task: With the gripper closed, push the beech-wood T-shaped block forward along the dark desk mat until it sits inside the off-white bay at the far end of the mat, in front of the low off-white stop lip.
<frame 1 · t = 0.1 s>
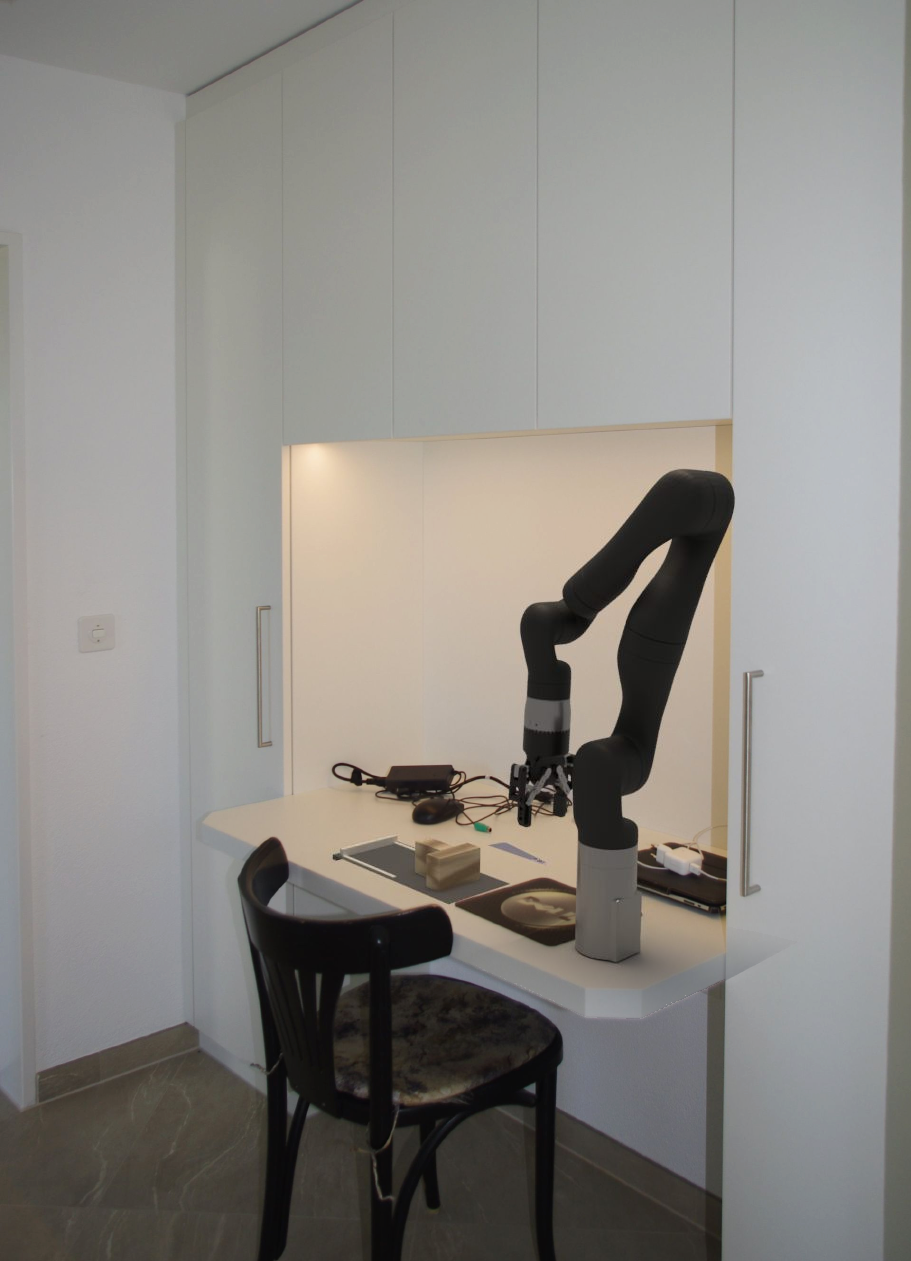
hand: (542, 821, 163), 17 cm above the table, tool pointing down, fingers open, 8 cm apart
desk mat: (417, 872, 188), on the table
T block: (453, 882, 180), point 1 cm above the table, touching desk mat
lavender triangular plate: (510, 859, 198), on the table
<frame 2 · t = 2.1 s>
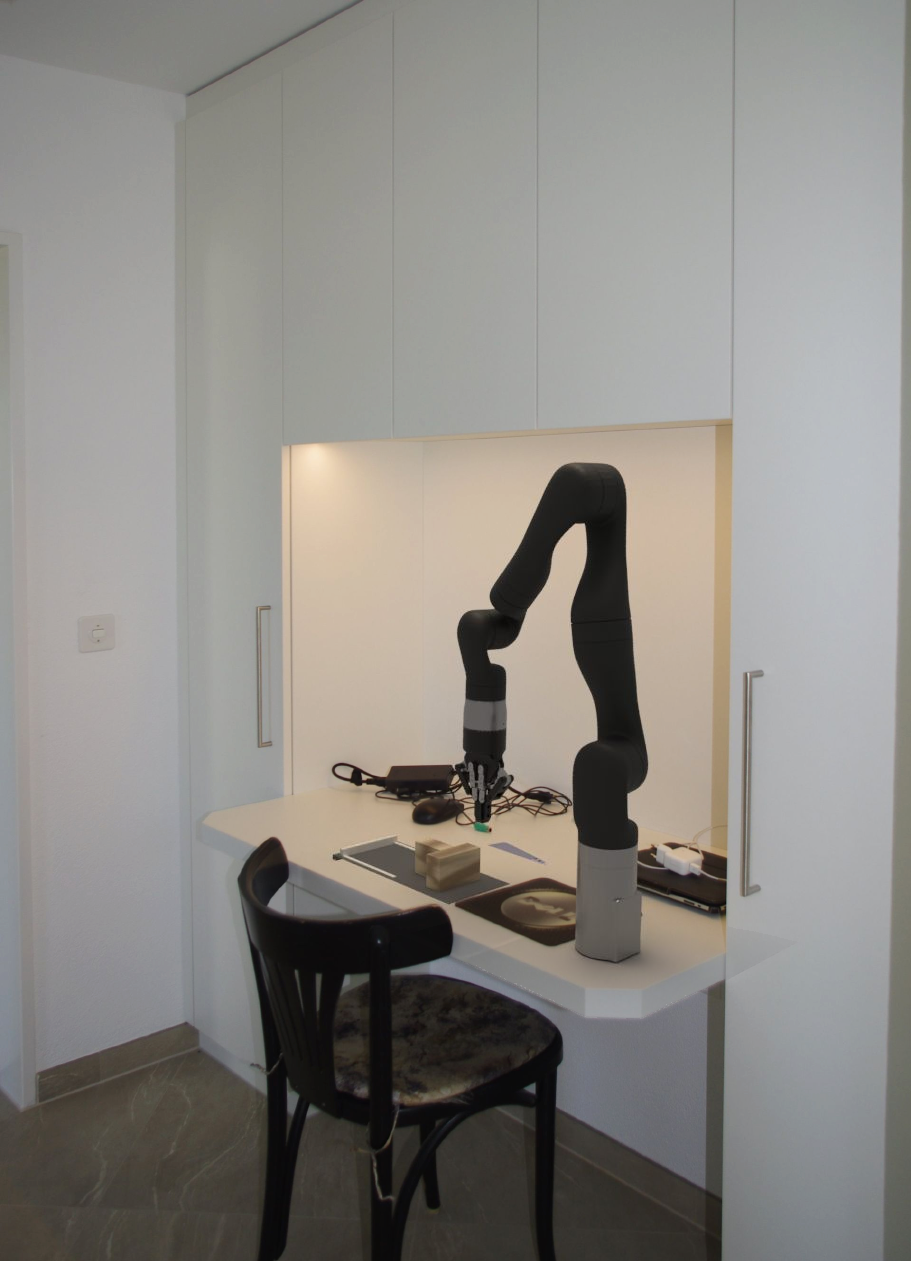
hand: (482, 821, 174), 14 cm above the table, tool pointing down, fingers closed
nothing on the table moved.
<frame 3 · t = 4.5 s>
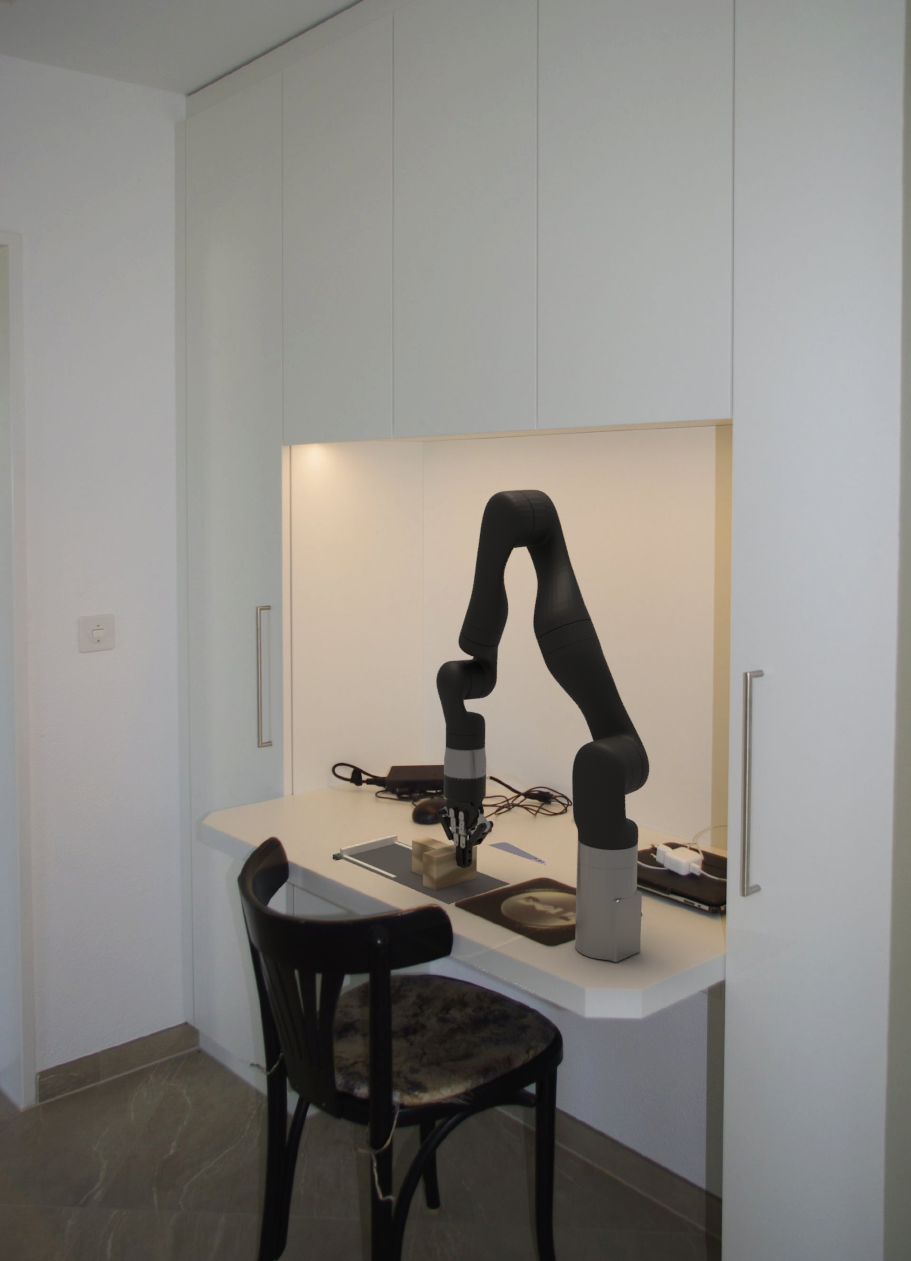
hand: (463, 866, 178), 5 cm above the table, tool pointing down, fingers closed
T block: (450, 881, 181), point 1 cm above the table, touching desk mat, gripper
everything else where it was.
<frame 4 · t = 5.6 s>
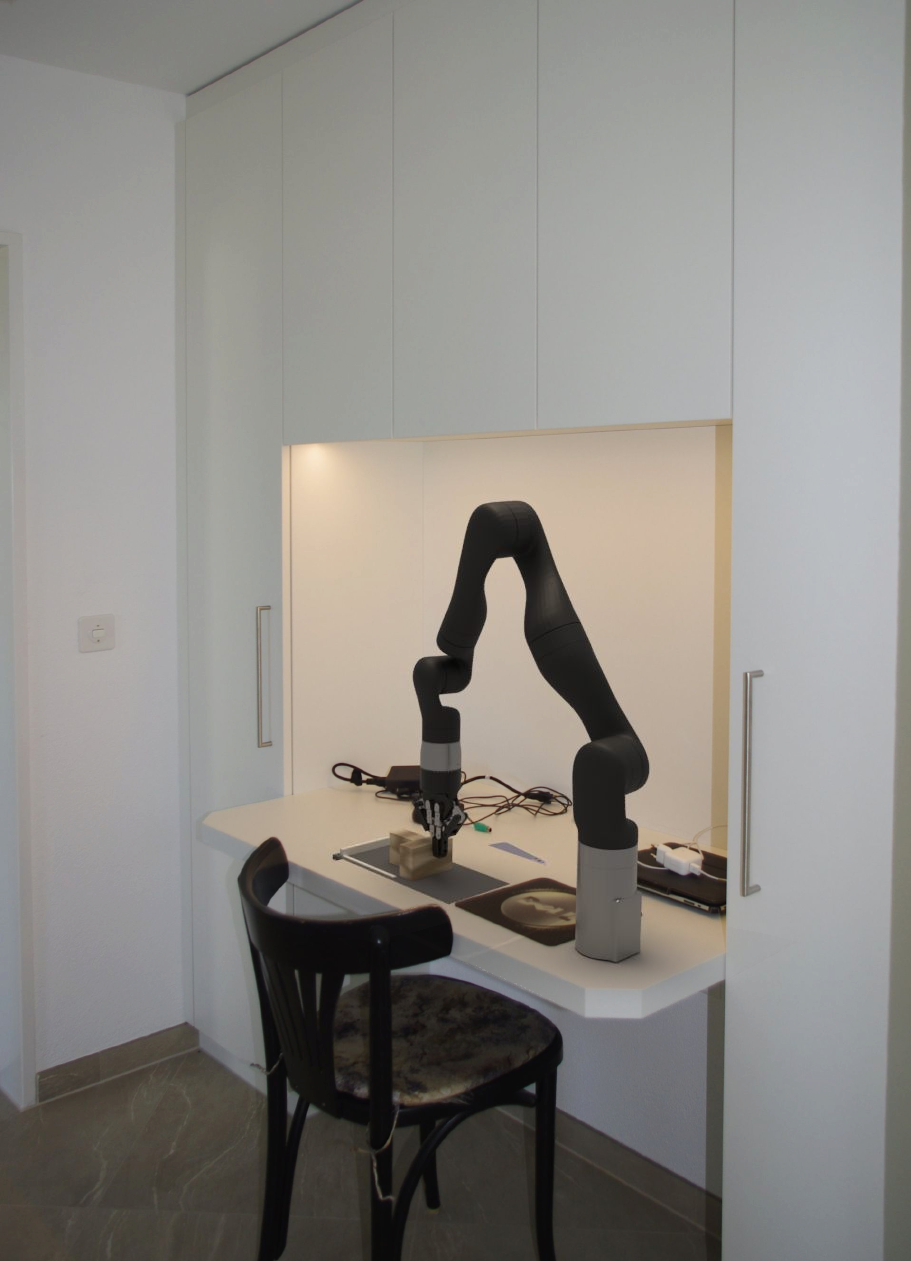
hand: (439, 856, 183), 5 cm above the table, tool pointing down, fingers closed
T block: (426, 872, 186), point 1 cm above the table, touching gripper
everything else where it was.
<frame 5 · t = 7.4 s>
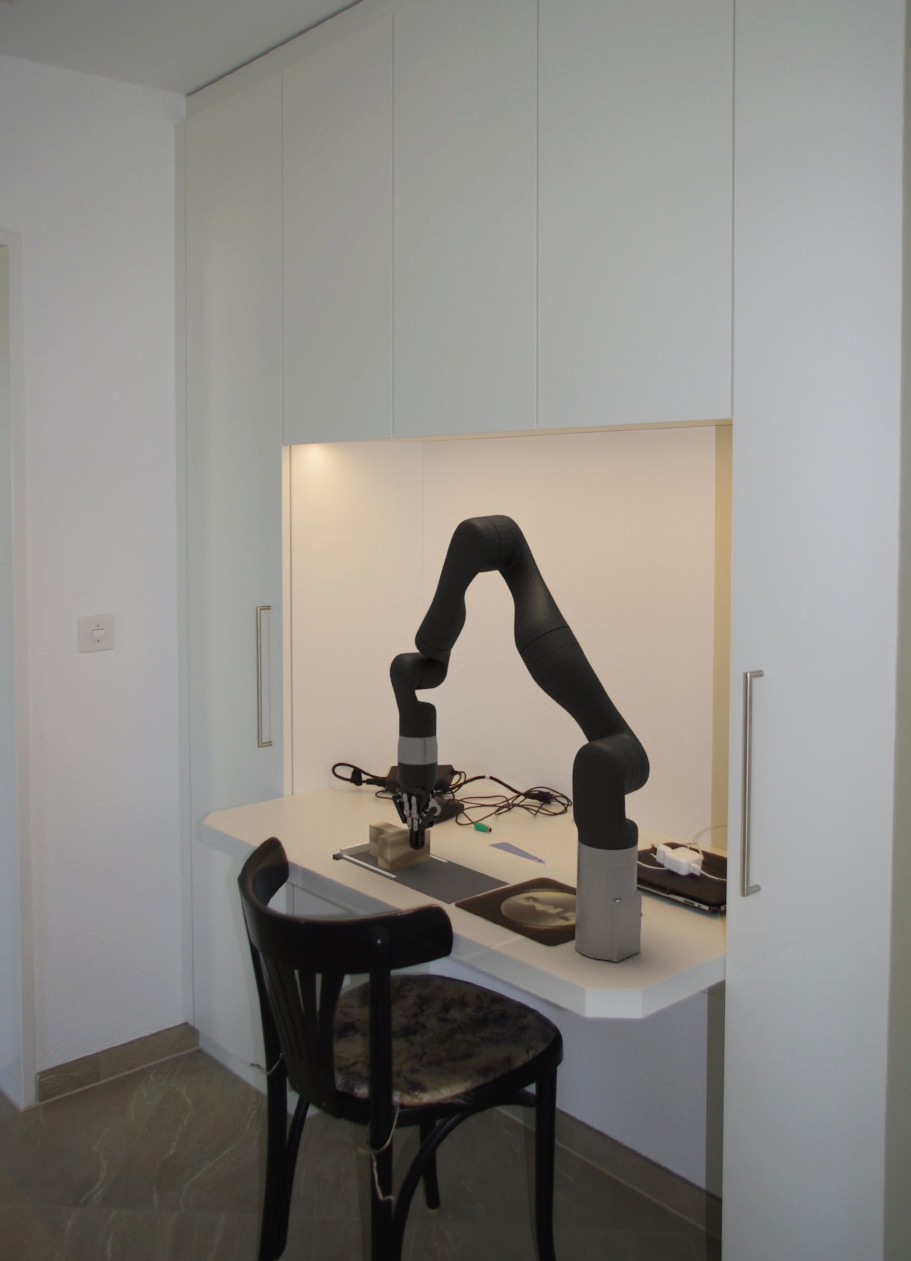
hand: (417, 848, 188), 5 cm above the table, tool pointing down, fingers closed
T block: (404, 863, 190), point 1 cm above the table, touching desk mat, gripper
everything else where it was.
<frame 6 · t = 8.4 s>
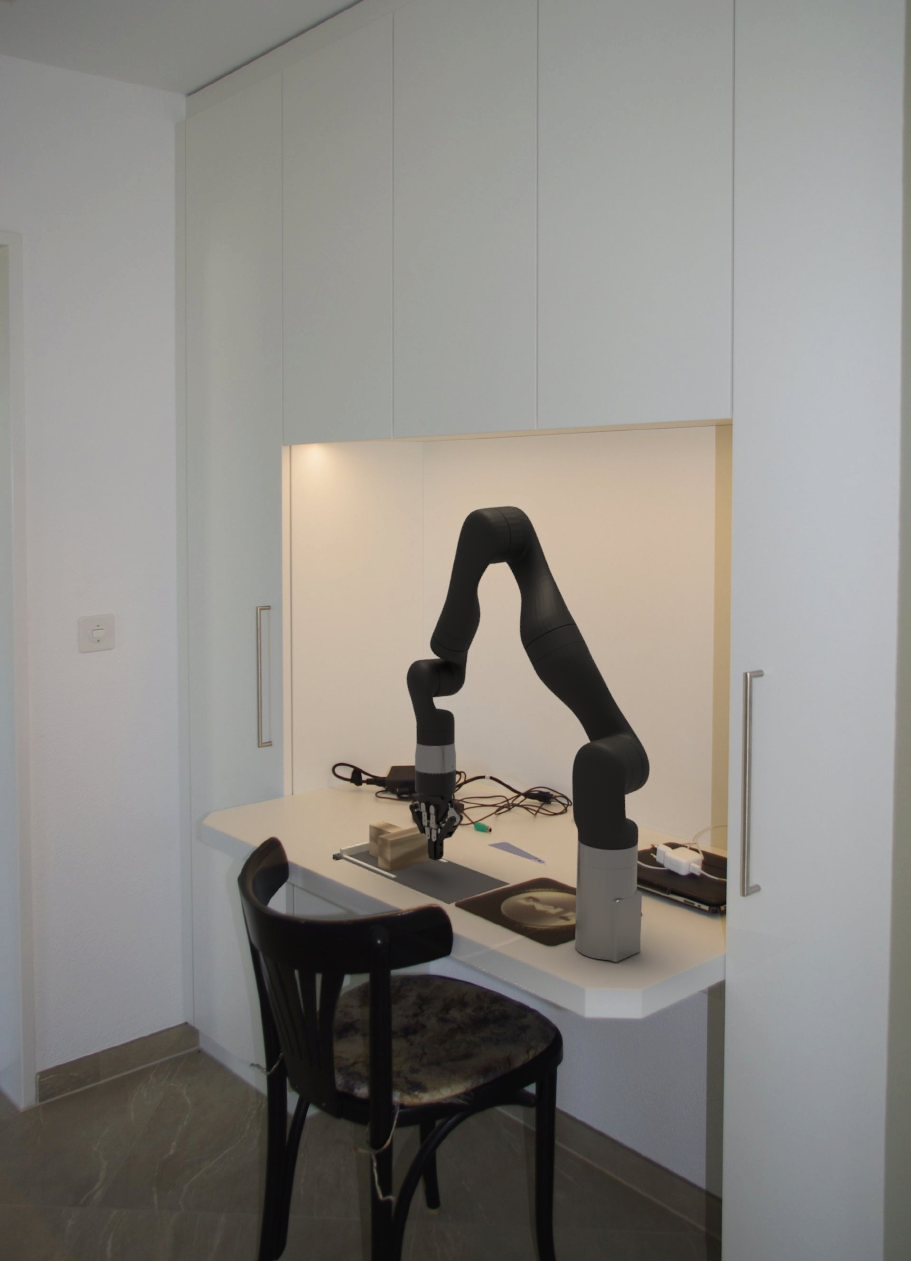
hand: (435, 858, 184), 4 cm above the table, tool pointing down, fingers closed
T block: (404, 863, 190), point 1 cm above the table, touching desk mat
everything else where it was.
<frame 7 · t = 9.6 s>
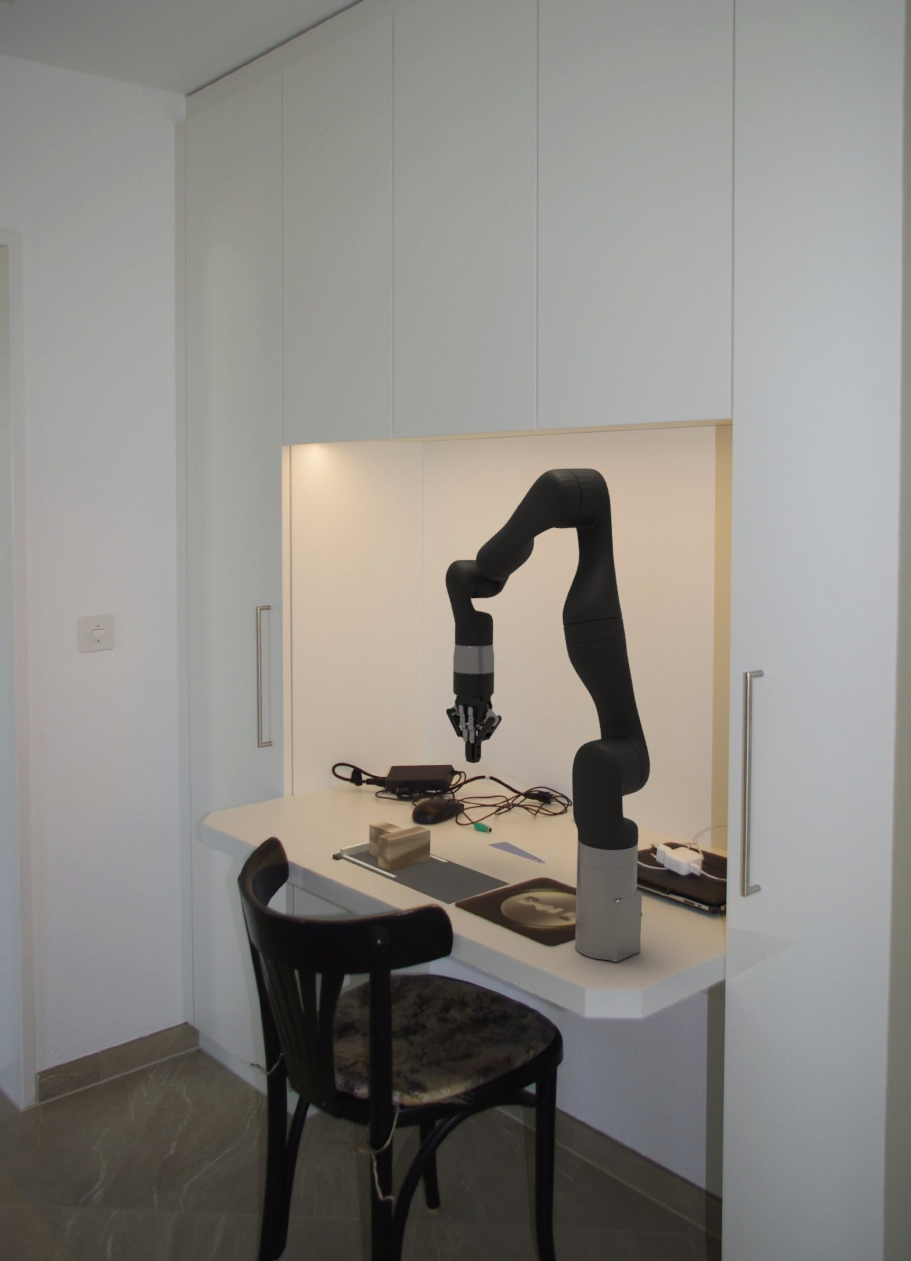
hand: (472, 761, 184), 22 cm above the table, tool pointing down, fingers closed
nothing on the table moved.
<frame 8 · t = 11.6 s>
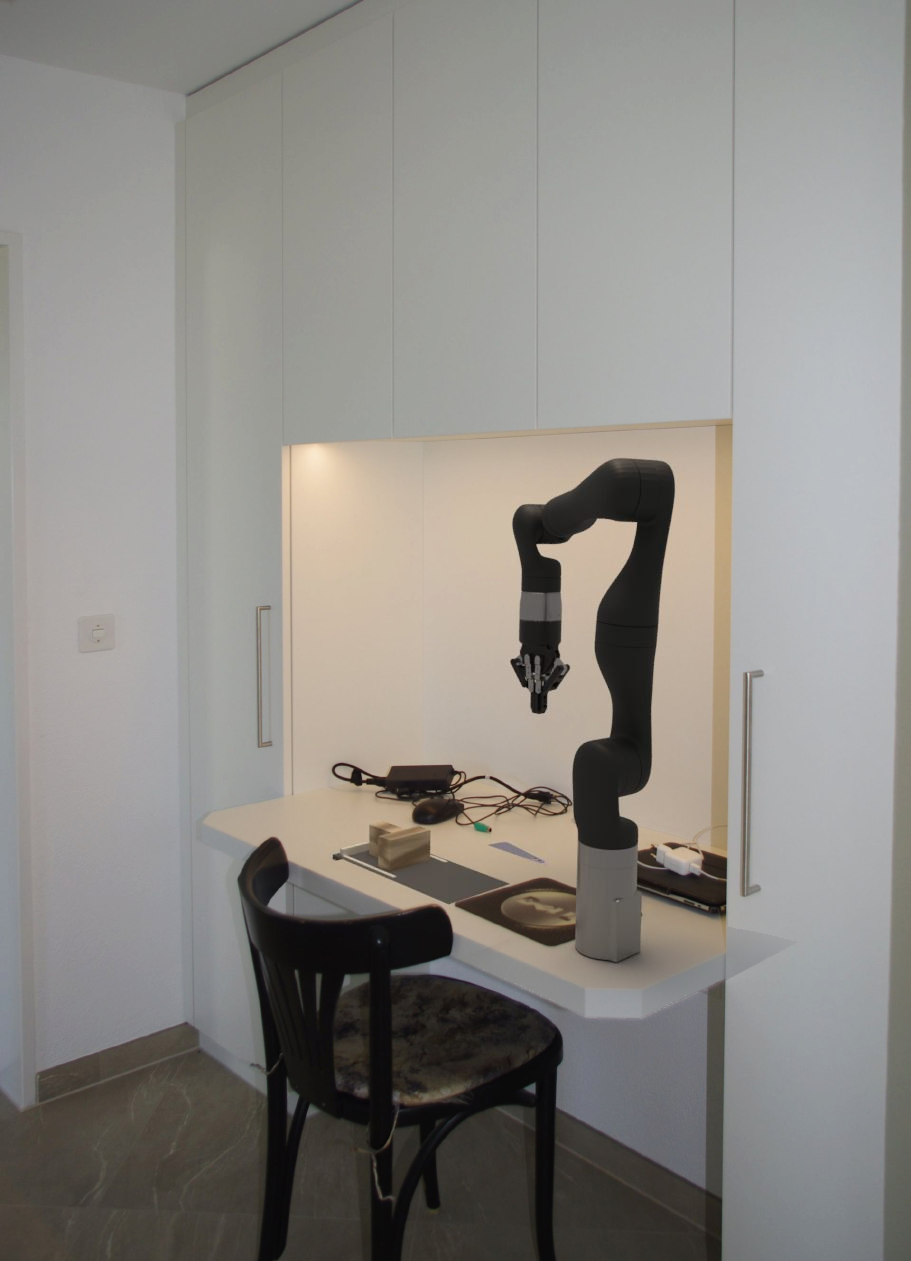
hand: (538, 712, 179), 32 cm above the table, tool pointing down, fingers closed
nothing on the table moved.
at the end: T block 0.3 cm from the target spot, point 0.8 cm above the table; T block tilted 0°; T block moved 13.8 cm from its start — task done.
